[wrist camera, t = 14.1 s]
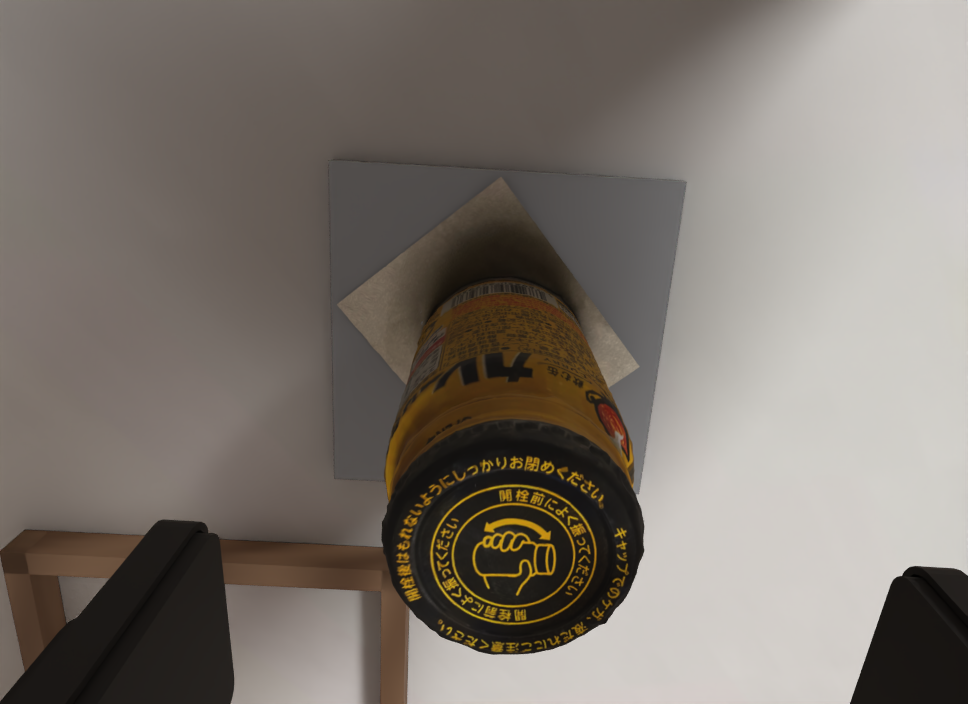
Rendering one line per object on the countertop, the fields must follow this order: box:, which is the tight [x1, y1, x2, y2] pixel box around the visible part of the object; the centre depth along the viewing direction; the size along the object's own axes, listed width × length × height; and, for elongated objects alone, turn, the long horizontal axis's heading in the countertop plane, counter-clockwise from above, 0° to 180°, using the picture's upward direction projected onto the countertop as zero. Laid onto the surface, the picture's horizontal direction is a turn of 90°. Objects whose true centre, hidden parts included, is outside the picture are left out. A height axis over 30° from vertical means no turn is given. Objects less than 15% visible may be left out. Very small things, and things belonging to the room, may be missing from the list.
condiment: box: [337, 177, 644, 655], centre depth 18 cm, size 7×8×12 cm
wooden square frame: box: [0, 530, 409, 704], centre depth 29 cm, size 16×15×2 cm
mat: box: [329, 160, 686, 494], centre depth 24 cm, size 12×12×1 cm
